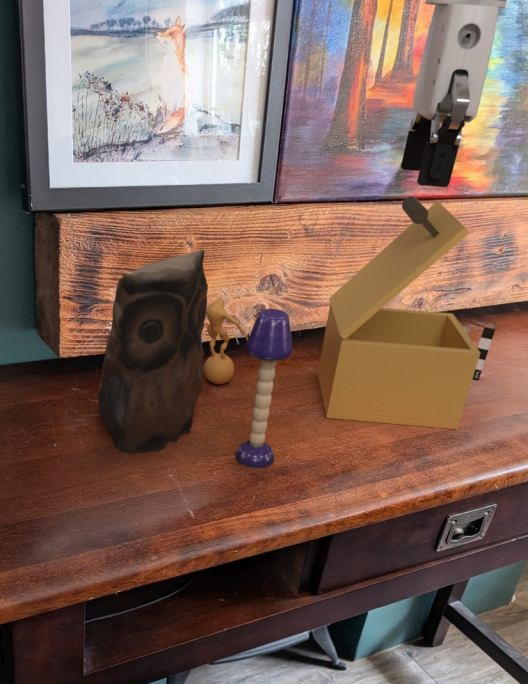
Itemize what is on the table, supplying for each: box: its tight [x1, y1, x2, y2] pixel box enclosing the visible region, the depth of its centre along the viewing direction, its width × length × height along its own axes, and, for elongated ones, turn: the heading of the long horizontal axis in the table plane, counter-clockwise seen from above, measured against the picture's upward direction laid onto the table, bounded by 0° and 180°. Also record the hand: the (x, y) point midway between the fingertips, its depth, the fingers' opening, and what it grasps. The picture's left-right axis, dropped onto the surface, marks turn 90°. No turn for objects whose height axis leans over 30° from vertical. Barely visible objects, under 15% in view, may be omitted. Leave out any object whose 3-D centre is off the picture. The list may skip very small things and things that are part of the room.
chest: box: [317, 303, 480, 430], centre depth 94 cm, size 16×14×10 cm
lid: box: [328, 195, 470, 340], centre depth 87 cm, size 17×14×5 cm
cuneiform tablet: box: [461, 324, 496, 381], centre depth 106 cm, size 7×4×12 cm
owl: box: [96, 249, 209, 455], centre depth 81 cm, size 13×13×20 cm
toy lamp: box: [235, 308, 293, 469], centre depth 78 cm, size 5×5×17 cm
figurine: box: [203, 296, 249, 385], centre depth 95 cm, size 8×6×12 cm
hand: (423, 177), depth 82 cm, fingers open, 9 cm apart
